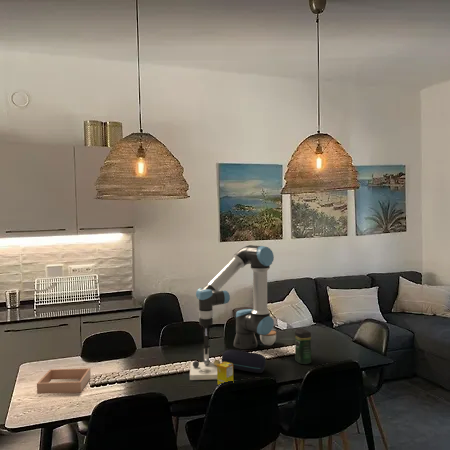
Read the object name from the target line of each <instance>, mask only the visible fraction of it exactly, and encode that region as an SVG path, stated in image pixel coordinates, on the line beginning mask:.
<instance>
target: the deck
mask: <svg viewBox="0 0 450 450" xmlns="http://www.w3.org/2000/svg"><path fill="white" fill-rule="evenodd" d="M198 362H199V366H198V367H194V366H193V362H190V364H189V365H190V367H189V368H190V369H189V381H200V380H202V381H203V380H206V381H207V380H217V366H215V365H214V361H210V364H209V365H205V364H204V361H202V362H200V361H198ZM220 363H222V361H220Z"/></svg>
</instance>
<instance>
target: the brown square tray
mask: <svg viewBox="0 0 450 450" xmlns="http://www.w3.org/2000/svg"><path fill="white" fill-rule="evenodd" d="M90 377H91V368H89V367H88V368H83V367H82V368H60V369H59V368H58V369H57V368H56V369H55V368H54V369H49V370H48V371H47V372H46V373H45V374H44V375H43V376H42V377H41V378H40V379H39V381H38V382H37V383H36V394H37V395H43V394H44V395H45V394H47V395H48V394H69V393H70V394H71V393H72V394H74V393H76V394H77V393H82V391H83V390H84V389H85V387H86V386H87V384H88V382H89V381H90V379H91V378H90ZM76 379H77V380H78V379H80V380H79V381H60V382H59V381H55V382H54V381H53V382H51V381H52V380H76Z"/></svg>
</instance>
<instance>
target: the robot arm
mask: <svg viewBox="0 0 450 450" xmlns="http://www.w3.org/2000/svg"><path fill="white" fill-rule="evenodd" d="M274 257H275V256H274V252H273V250H272V249H271V248H270V247H269V246H264V245H253V244H250V245H245V246H244V247H242V248H240V249H239V250H238V251H237V252H235V253H234V254H233V255H232V257H231V260H229V262H228V263H227V264H225V266H224V267H223V268H221V270H220V271H219V272H218V273H217V274H216V275H215V276H214V277H213V278H212V279H211V280H210V281H209V282H208V283H207V284H206V285H205V286H204V287H200V288H198V289H196V292H195V296H196V299H198V312H197V314H198V315H199V316H198V317H199V318H198V320H199V322H198V324H199V325H200V326H202V337H203V346H202V349H203V361H204V360H205V359H209V360H210V357H209V356H210V355H209V351H210V347H211V346H210V345H209V337H210V332H211V331H210V330H211V329H210V326H212V325H213V323H214V319H213V316H214V314H213V313H214V311H213V307H214V306H220V305H226V304H228V303H229V302H230V300H231V296H230V293H229V292H228V290H221V289H222V288H223V287H224V286H225V285H226V284H227V283H228V282H229V280H231V279H232V277H234V275H236V273H237V272H238V271H239V270H240V269H242V268H245V266H246V265H250V269H251V270H252V271H253V273H252V276H253V278H252V279H253V280H252V281H253V283H252V284H253V285H252V286H253V287H252V289H253V292H252V294H253V299H252V300H253V306H252V307H253V308H252V309H251V308H248V309H240V310H237V311H236V312H235V333H236V334H235V336H234V340H233V347H234V348H235V349H239V350H250V349H256V348H257V347H258V340H257V337H256V335H255V334H257V335H259V336H260V335H267V334H269V333H270V332H271V330H274V326H275V325H274V324H275V321H274V319H273V317H271V316H270V315H271V313H270V311H269V309H268V270H269V269H270V268H271V265H272V264H273V262H274Z"/></svg>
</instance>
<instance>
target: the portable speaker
mask: <svg viewBox="0 0 450 450" xmlns="http://www.w3.org/2000/svg"><path fill="white" fill-rule="evenodd" d="M266 361H267V359H266V357H265V356H264V355H263V354H260V353H256V352H251V351H250V352H249V351H245V350H238V349H233V348H232V349H227V350H224V352H223V353H222V355H221V362H228V363H232V364H233V370H238V371H244V372H250V373H255V374H261V373H263V372H264V371H265V368H266Z"/></svg>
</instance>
